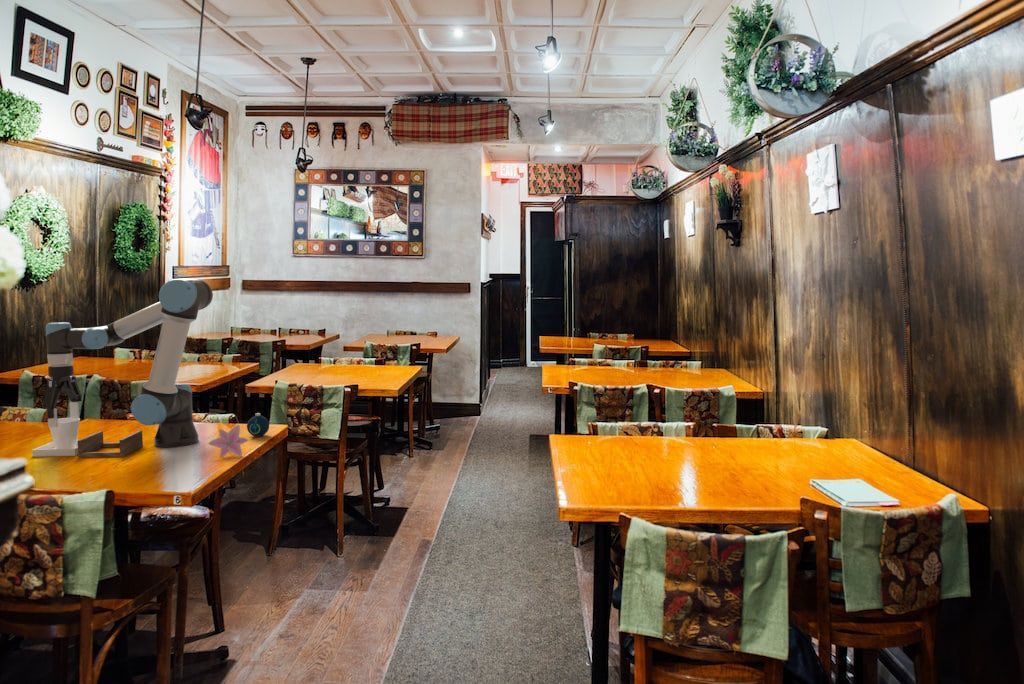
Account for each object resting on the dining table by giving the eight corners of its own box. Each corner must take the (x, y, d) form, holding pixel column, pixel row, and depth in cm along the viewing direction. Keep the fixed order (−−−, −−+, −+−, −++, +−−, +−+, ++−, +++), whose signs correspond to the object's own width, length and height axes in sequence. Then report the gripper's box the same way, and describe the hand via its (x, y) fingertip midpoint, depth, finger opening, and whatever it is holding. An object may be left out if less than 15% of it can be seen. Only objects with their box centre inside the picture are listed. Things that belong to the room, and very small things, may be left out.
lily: (204, 459, 232) (206, 439, 227) (220, 439, 242) (222, 419, 238) (236, 469, 233) (239, 449, 228) (251, 449, 243) (254, 429, 238)
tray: (96, 445, 246) (96, 439, 245) (75, 455, 232) (74, 449, 231) (56, 446, 244) (56, 440, 244) (32, 456, 230) (32, 449, 230)
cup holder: (142, 446, 246) (142, 430, 245) (123, 456, 231) (122, 439, 230) (100, 446, 244) (100, 431, 244) (78, 457, 229) (77, 440, 229)
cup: (65, 454, 232) (63, 423, 231) (42, 452, 234) (40, 422, 233) (88, 447, 242) (87, 418, 241) (66, 445, 244) (64, 416, 243)
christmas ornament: (242, 437, 260) (241, 412, 259) (257, 433, 268) (256, 409, 267) (259, 439, 257) (258, 414, 256) (274, 434, 265) (273, 410, 264)
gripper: (69, 361, 247) (72, 416, 249) (27, 369, 222) (31, 431, 224) (90, 361, 248) (93, 415, 250) (50, 369, 223) (54, 430, 225)
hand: (64, 423), depth 237 cm, fingers open, 13 cm apart
